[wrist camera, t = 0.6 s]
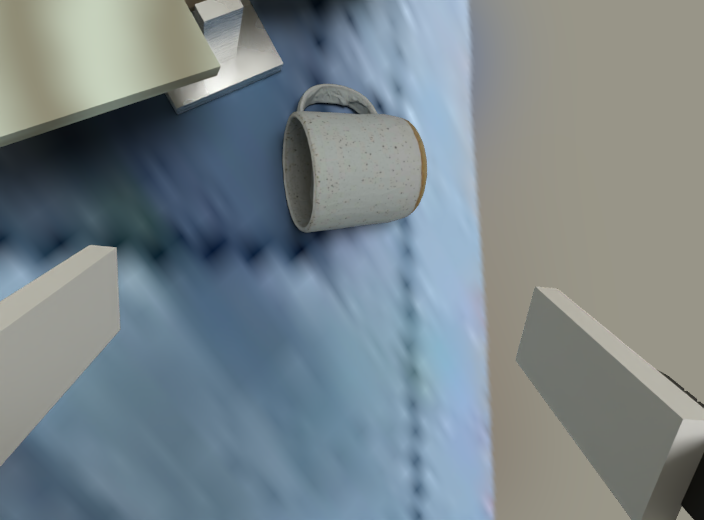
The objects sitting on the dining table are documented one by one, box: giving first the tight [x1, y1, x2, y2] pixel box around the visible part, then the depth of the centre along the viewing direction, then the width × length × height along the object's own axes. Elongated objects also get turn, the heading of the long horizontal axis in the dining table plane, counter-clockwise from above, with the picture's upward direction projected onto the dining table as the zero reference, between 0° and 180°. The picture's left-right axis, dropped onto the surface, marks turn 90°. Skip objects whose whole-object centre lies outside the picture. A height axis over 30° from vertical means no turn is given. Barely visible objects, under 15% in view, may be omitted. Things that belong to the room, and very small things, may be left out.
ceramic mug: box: [283, 84, 427, 232], centre depth 31 cm, size 11×8×8 cm
